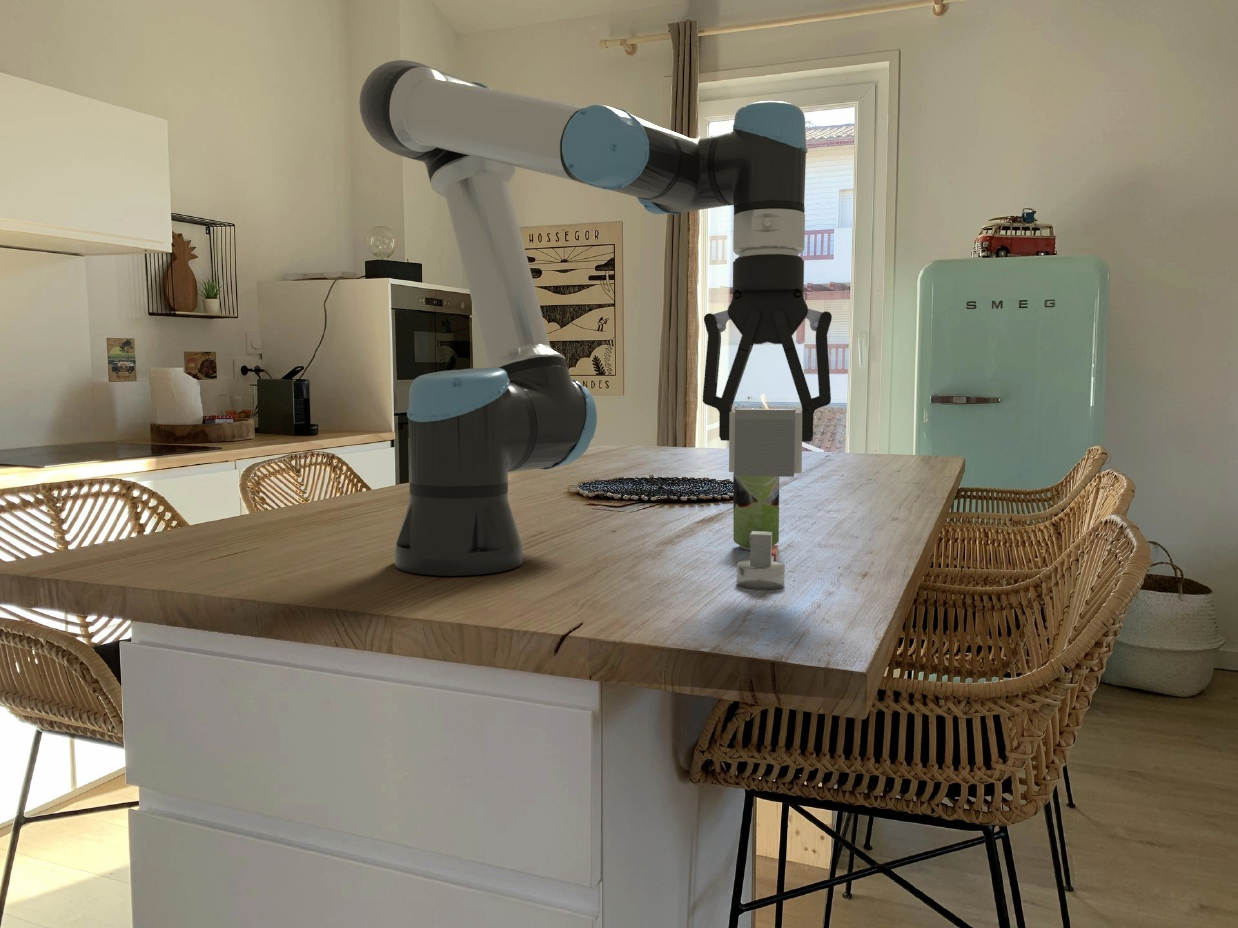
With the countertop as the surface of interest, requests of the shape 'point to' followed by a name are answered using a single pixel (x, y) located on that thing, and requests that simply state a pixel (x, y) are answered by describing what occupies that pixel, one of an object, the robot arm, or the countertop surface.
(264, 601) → the countertop surface
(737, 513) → the beverage can
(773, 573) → the ratchet
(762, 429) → the brushed steel cube
